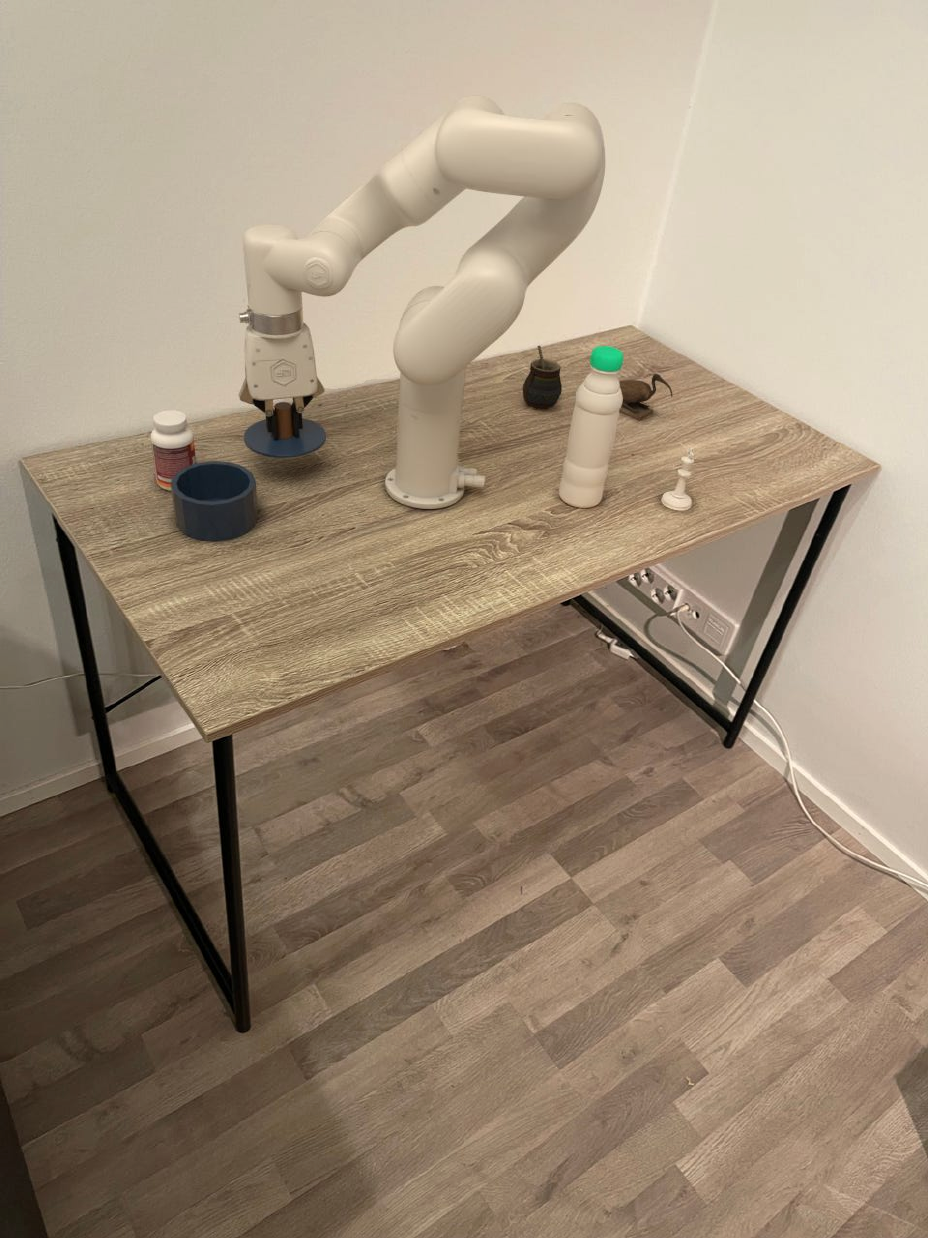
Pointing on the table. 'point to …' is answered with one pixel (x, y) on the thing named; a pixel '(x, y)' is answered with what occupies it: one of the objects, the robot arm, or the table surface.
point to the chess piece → (680, 486)
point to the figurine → (638, 396)
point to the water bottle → (592, 430)
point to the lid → (285, 436)
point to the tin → (214, 500)
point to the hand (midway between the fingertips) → (285, 433)
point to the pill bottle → (171, 446)
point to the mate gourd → (542, 384)
